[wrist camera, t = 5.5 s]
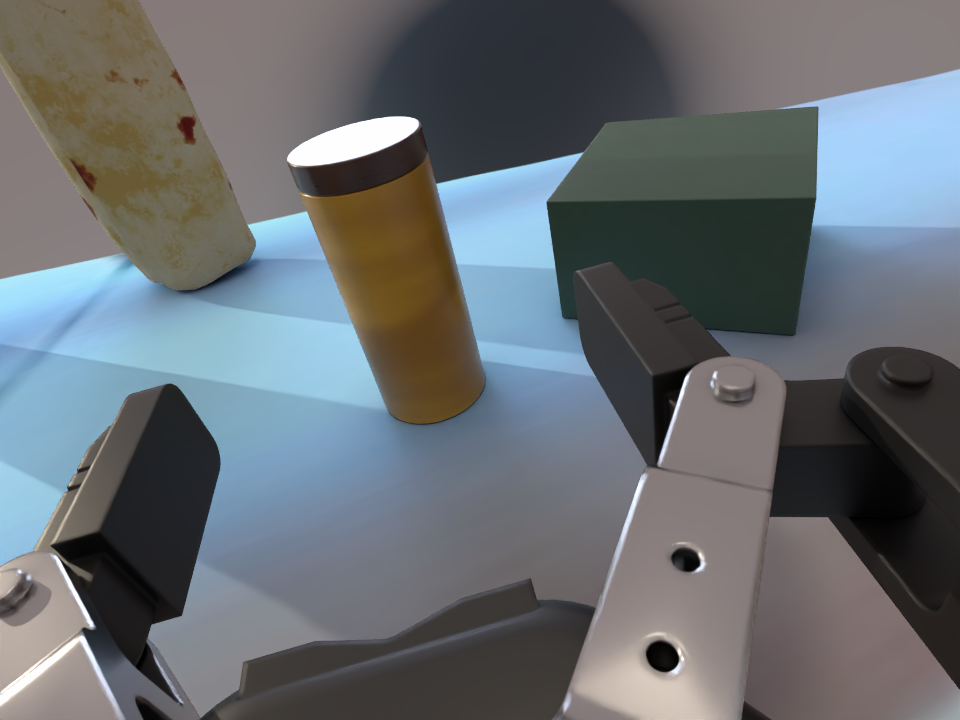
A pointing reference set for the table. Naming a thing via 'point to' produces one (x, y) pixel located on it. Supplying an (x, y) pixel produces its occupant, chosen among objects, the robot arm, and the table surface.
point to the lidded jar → (393, 263)
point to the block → (696, 213)
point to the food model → (126, 134)
